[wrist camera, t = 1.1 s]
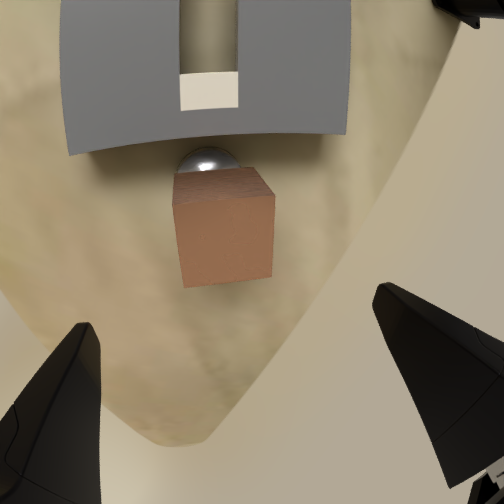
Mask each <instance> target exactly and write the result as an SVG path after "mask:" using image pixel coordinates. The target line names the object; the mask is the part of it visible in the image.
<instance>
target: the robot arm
mask: <svg viewBox="0 0 504 504" xmlns="http://www.w3.org/2000/svg"><path fill="white" fill-rule="evenodd" d="M433 4H434V5H435V6H436V7H437V8H439V9H441V10H443V11H445V12H447V13H448V14H450V15H452V16H454V17H456V18H457V19H459V20H461V21H463V22H464V23H466V24H468V25H470V26H471V27H472V28H474V29H479V28H480V17H481V18H496V19H504V0H433ZM372 307H373V311H374V313H375V316H376V318H377V320H378V323H379V326H380V328H381V331H382V334H383V336H384V339H385V341H386V344H387V346H388V348H389V350H390V352H391V354H392V356H393V358H394V361H395V363H396V365H397V367H398V369H399V371H400V373H401V375H402V377H403V379H404V381H405V383H406V385H407V388H408V390H409V392H410V394H411V396H412V399H413V401H414V403H415V405H416V407H417V410H418V412H419V414H420V416H421V419H422V421H423V423H424V426H425V428H426V430H427V433H428V435H429V437H430V440H431V442H432V445H433V448H434V450H435V453H436V455H437V458H438V461H439V463H440V466H441V468H442V471H443V474H444V477H445V479H446V482H447V485H448V487H449V488H450V489H451V488H452V487H454V486H456V485H458V484H460V483H462V482H464V481H465V480H467V479H469V478H470V477H472V476H474V475H475V474H477V473H479V472H480V471H482V470H484V469H486V472H485V473H484V474H483V475H482V476H480V477H479V478H478V479H477V480H476V481H474V482H473V485H472V489H471V493H470V497H469V500H468V504H504V342H502V341H500V340H498V339H496V338H494V337H492V336H490V335H488V334H486V333H485V332H483V331H481V330H479V329H477V328H476V327H473V326H472V325H470V324H468V323H466V322H465V321H463V320H461V319H459V318H457V317H455V316H453V315H452V314H450V313H448V312H446V311H444V310H442V309H441V308H439V307H437V306H435V305H433V304H431V303H429V302H427V301H425V300H424V299H422V298H420V297H418V296H416V295H414V294H412V293H410V292H408V291H406V290H405V289H403V288H401V287H399V286H397V285H395V284H393V283H390V282H387V283H382V284H379V286H378V287H377V290H376V293H375V296H374V299H373V303H372ZM100 353H101V349H100V342H99V339H98V337H97V335H96V333H95V331H94V329H93V327H92V325H91V324H90V323H89V322H82V323H77V324H76V325H75V326H74V327H73V328H72V329H71V331H70V332H69V333H68V334H67V335H66V336H65V338H64V339H63V340H62V341H61V342H60V344H59V345H58V346H57V347H56V348H55V350H54V351H53V352H52V353H51V355H50V356H49V357H48V358H47V360H46V361H45V362H44V363H43V365H42V366H41V367H40V368H39V370H38V371H37V372H36V373H35V375H34V376H33V377H32V379H31V380H30V381H29V383H28V384H27V385H26V387H25V388H24V389H23V391H22V392H21V393H20V395H19V396H18V398H17V399H16V400H15V401H14V404H13V405H11V407H10V408H9V410H8V411H7V413H6V414H5V416H4V417H3V418H2V419H1V421H0V504H101V489H100V464H99V463H100V462H99V436H100V433H99V432H100V407H101V355H100Z"/></svg>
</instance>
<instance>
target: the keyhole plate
mask: <svg viewBox="0 0 504 504" xmlns="http://www.w3.org/2000/svg"><path fill="white" fill-rule="evenodd" d="M179 9H180V0H61V12H60V79H61V94H62V105H63V115H64V124H65V131H66V139H67V145H68V152H69V156H71V155H76V154H81V153H85V152H91V151H96V150H101V149H107V148H112V147H118V146H125V145H131V144H138V143H145V142H153V141H161V140H169V139H179V138H189V137H201V136H214V135H230V134H255V133H317V134H341V135H346V124H347V111H348V97H349V79H350V52H351V0H236V72H208V73H191V74H180V62H179Z"/></svg>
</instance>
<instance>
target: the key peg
mask: <svg viewBox="0 0 504 504" xmlns="http://www.w3.org/2000/svg"><path fill="white" fill-rule="evenodd" d="M172 206H173V215H174V223H175V230H176V238H177V245H178V252H179V258H180V265H181V271H182V278H183V284H184V288H188V287H197V286H205V285H213V284H222V283H230V282H238V281H245V280H253V279H261V278H268V277H272V258H273V238H274V217H275V194H274V193H273V192H272V190H271V189H270V188H269V187H268V185H267V184H266V183H265V181H264V180H263V179H262V178H261V176H260V175H259V174H258V172H257V171H256V170H255V169H254V167H245V168H241V167H240V165H239V164H238V162H237V161H236V159H235V158H234V157H233V156H232V155H231V154H230V153H228V152H227V151H225V150H222V149H220V148H215V147H204V148H200V149H197V150H195V151H193V152H191V153H190V154H188V155H187V156H186V157H185V158H184V159H183V160H182V161H181V163H180V165H179V166H178V169H177V172H176V173H175V174H174V186H173V202H172Z"/></svg>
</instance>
